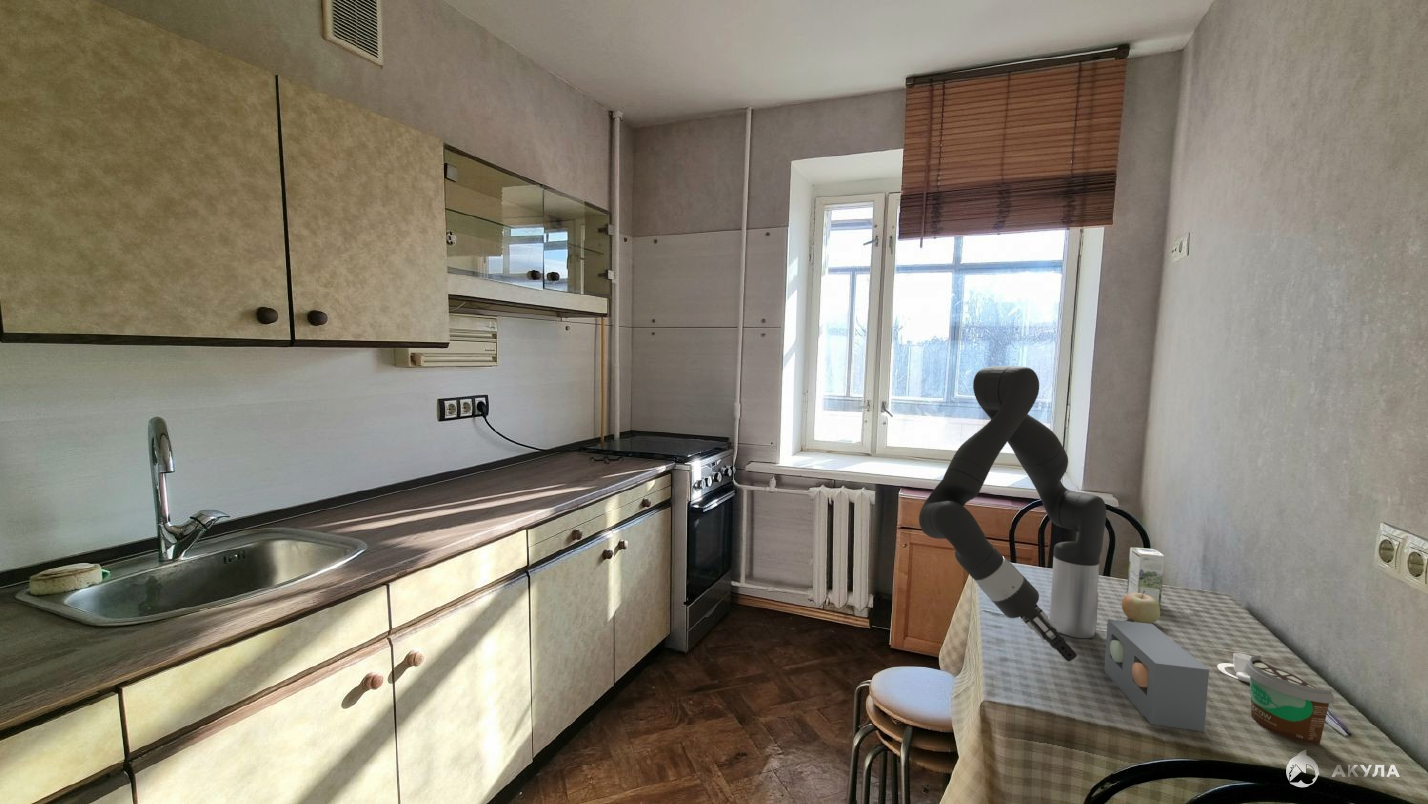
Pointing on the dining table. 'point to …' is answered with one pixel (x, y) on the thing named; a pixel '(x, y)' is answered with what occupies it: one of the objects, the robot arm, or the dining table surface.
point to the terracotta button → (1140, 674)
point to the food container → (1287, 702)
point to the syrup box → (1146, 572)
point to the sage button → (1116, 650)
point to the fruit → (1141, 608)
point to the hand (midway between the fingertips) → (1071, 656)
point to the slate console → (1159, 676)
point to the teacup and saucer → (1237, 666)
